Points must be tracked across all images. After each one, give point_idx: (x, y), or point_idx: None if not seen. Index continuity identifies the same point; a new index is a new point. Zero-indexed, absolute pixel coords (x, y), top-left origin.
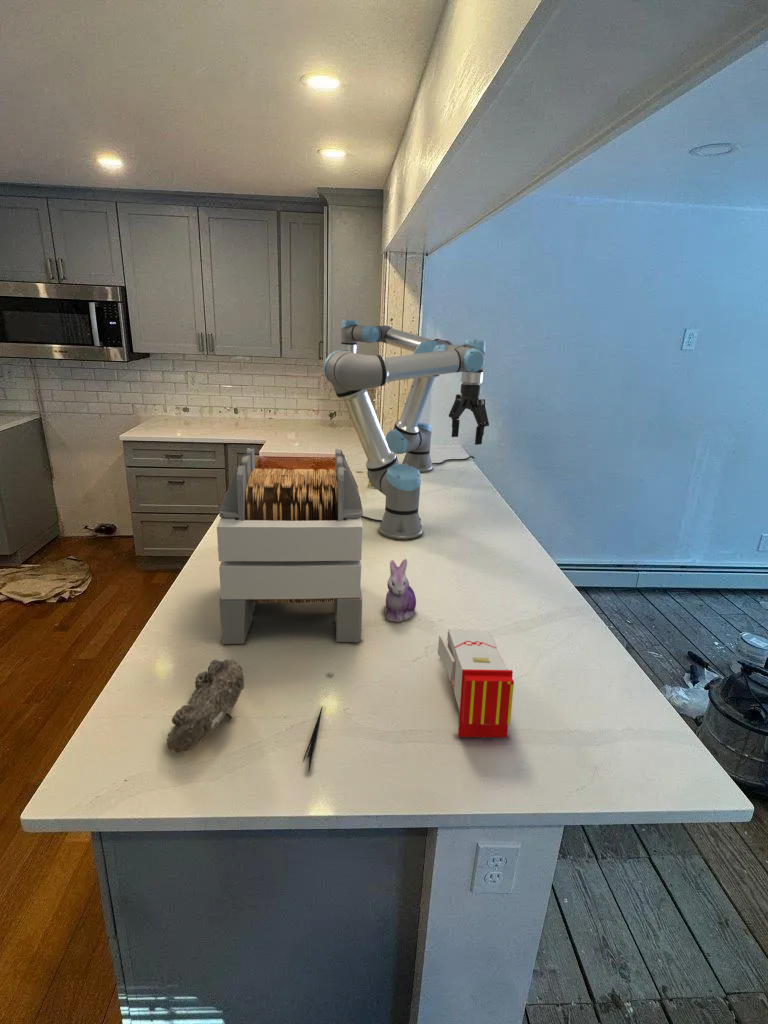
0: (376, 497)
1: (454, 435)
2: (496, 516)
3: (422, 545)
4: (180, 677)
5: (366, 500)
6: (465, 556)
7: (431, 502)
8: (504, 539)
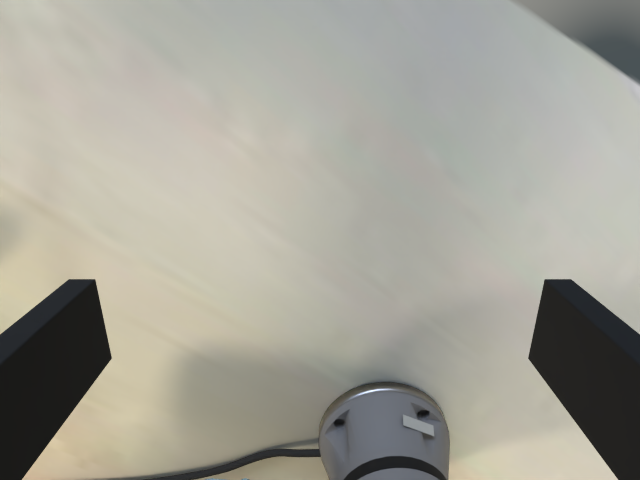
0: None
1: (96, 347)
2: (442, 36)
3: (489, 431)
4: None
5: None
6: None
7: (169, 187)
8: (624, 196)
